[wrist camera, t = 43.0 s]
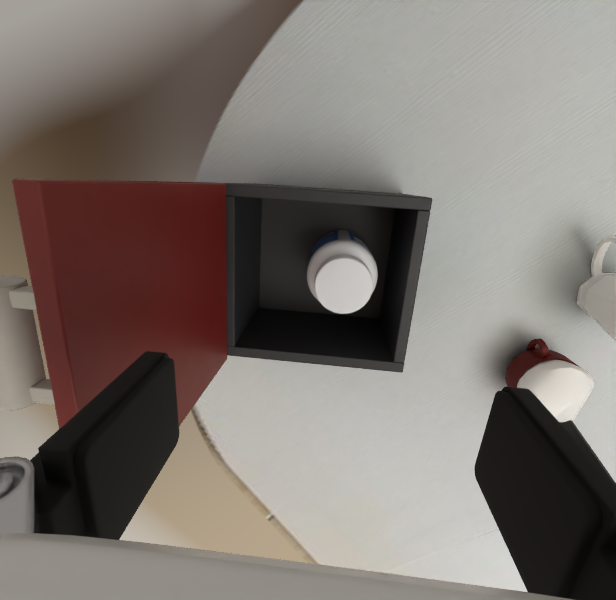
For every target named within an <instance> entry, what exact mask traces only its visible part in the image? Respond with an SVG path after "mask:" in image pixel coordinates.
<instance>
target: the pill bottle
mask: <svg viewBox="0 0 616 600" xmlns="http://www.w3.org/2000/svg"><path fill="white" fill-rule="evenodd" d="M377 278H378V271H377V265H376V262H375V260H374V258H373V256H372V254H371V252H370V250H369V249H368V247H367V245H366V244H365V242H364V241H363V240H362V238H360V237H359V236H358V235H356V234H355V233H353V232H350V231H347V230H335V231H331V232H328V233H326V234H325V235H323V236H322V237H321V238H320V239H319V240H318V241H317V242H316V244H315V245H314V247H313V250H312V253H311V257H310V260H309V264H308V268H307V283H308V286H309V289H310V291H311V293H312V294H313V296H314V297H315V298H316V299H317V300H318V301H319V302H320V303H321V304H322V305H323V306H324V307H325V308H326V309H328V310H330V311H332V312H334V313H339V314H347V313H352V312H355V311H357V310H359V309H360V308H362V307H363V306H364V305H365V304H366V303H367V302H368V300H369V299H370V296H371V294H372V293H373V291H374V289H375V287H376V283H377Z"/></svg>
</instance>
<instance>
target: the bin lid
mask: <svg viewBox="0 0 616 600" xmlns="http://www.w3.org/2000/svg"><path fill="white" fill-rule="evenodd" d="M12 183H13V189H14V194H15V199H16V204H17V209H18V215H19V220H20V225H21V230H22V236H23V241H24V246H25V252H26V256H27V262H28V267H29V272H30V277H31V283H32V286H28V283H27V280H26V279H25V278H24V277H20V276H0V410H1V411H12V410H18V409H23V408H26V407H29V406H32V405H34V404H36V403H46V404H53V405H55V409H56V414H57V419H58V424H59V429H60V428H61V427H62V426H64V425H65V424H66V423H67V422H68V421H69V420H70V419H71V418H72V417H73V416H75V415H76V414H77V413H78V412H79V411H80V410H81V409H82V408H83V407H85V406H86V405H87V404H88V403H89V402H90V401H91V400H92V399H93V398H95V397H96V396H97V395H98V394H99V393H100V392H101V391H102V390H103V389H104V388H106V387H107V386H108V385H109V384H110V383H111V382H112V381H113V380H114V379H116V378H117V377H118V376H119V375H120V374H121V373H122V372H123V371H124V370H126V369H127V368H128V367H129V366H130V365H131V364H132V363H133V362H134V361H136V360H137V359H138V358H139V357H140V356H141V355H142V354H143V353H144V352H146V351H152V352H162V353H167V354H168V356H169V358H172V359H173V360H174V365H175V379H176V393H177V408H178V422H179V426H180V424H181V423H182V422H183V420H184V419H185V417H186V416H187V414H188V413H189V412H190V410H191V409H192V407H193V406H194V405H195V403H196V402H197V400H198V399H199V398H200V396H201V395H202V393H203V392H204V390H205V389H206V388H207V386H208V385H209V383H210V382H211V381H212V379H213V378H214V376H215V375H216V374H217V372H218V371H219V369H220V368H221V366H222V365H223V364H224V362H225V361H226V359H227V259H226V184H225V183H205V182H157V181H109V180H58V179H14V180H13V181H12ZM33 310H37V314H38V320H39V325H40V330H41V335H42V341H43V346H44V350H45V356H46V361H47V367H48V372H49V377H50V379H46V376H45V371H44V366H43V360H42V355H41V350H40V345H39V340H38V335H37V330H36V325H35V319H34V315H33Z"/></svg>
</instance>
